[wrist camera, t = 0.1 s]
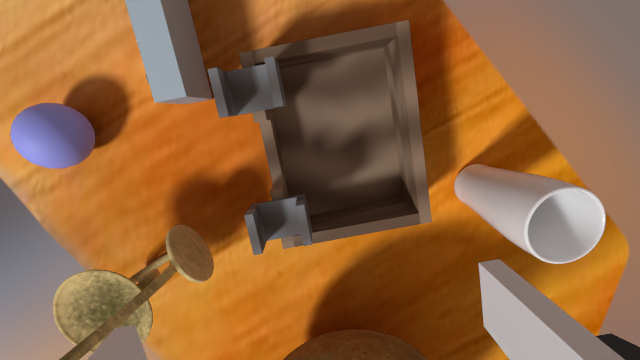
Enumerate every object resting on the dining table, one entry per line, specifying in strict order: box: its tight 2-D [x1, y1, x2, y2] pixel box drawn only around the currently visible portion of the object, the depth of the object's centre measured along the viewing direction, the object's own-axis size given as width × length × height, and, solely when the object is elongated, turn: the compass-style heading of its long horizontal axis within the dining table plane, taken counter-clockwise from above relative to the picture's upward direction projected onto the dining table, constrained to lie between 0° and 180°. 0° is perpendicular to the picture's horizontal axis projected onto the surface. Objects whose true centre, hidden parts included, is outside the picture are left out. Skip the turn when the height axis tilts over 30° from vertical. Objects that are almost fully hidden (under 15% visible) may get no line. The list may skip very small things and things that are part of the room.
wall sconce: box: [53, 224, 214, 360], centre depth 29 cm, size 14×10×25 cm
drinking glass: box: [454, 164, 606, 264], centre depth 33 cm, size 7×7×15 cm
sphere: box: [10, 103, 95, 168], centre depth 34 cm, size 7×7×7 cm
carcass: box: [207, 20, 432, 255], centre depth 33 cm, size 20×18×11 cm
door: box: [125, 0, 213, 104], centre depth 32 cm, size 14×4×8 cm, turn 11°
